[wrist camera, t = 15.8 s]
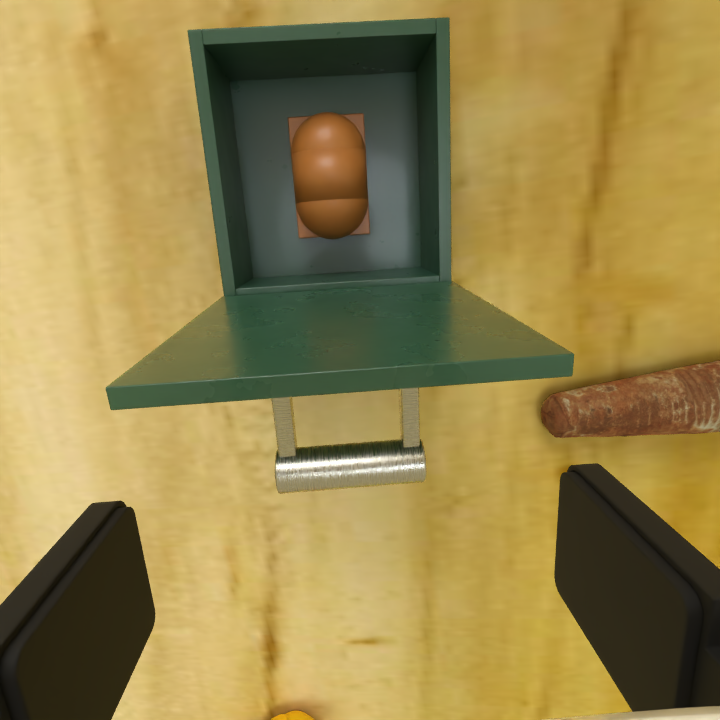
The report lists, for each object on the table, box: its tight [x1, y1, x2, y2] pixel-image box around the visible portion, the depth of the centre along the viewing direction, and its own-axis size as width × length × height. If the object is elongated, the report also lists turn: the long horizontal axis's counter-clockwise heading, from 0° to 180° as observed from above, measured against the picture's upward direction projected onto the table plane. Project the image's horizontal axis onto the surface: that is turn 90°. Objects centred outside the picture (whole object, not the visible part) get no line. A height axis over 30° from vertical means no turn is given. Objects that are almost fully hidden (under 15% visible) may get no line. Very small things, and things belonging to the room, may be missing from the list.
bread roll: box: [288, 112, 370, 239], centre depth 34 cm, size 8×5×5 cm, turn 3°
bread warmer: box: [188, 17, 451, 297], centre depth 33 cm, size 16×15×8 cm
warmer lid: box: [106, 281, 574, 494], centre depth 24 cm, size 16×15×6 cm
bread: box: [541, 360, 720, 438], centre depth 40 cm, size 6×19×6 cm, turn 95°
